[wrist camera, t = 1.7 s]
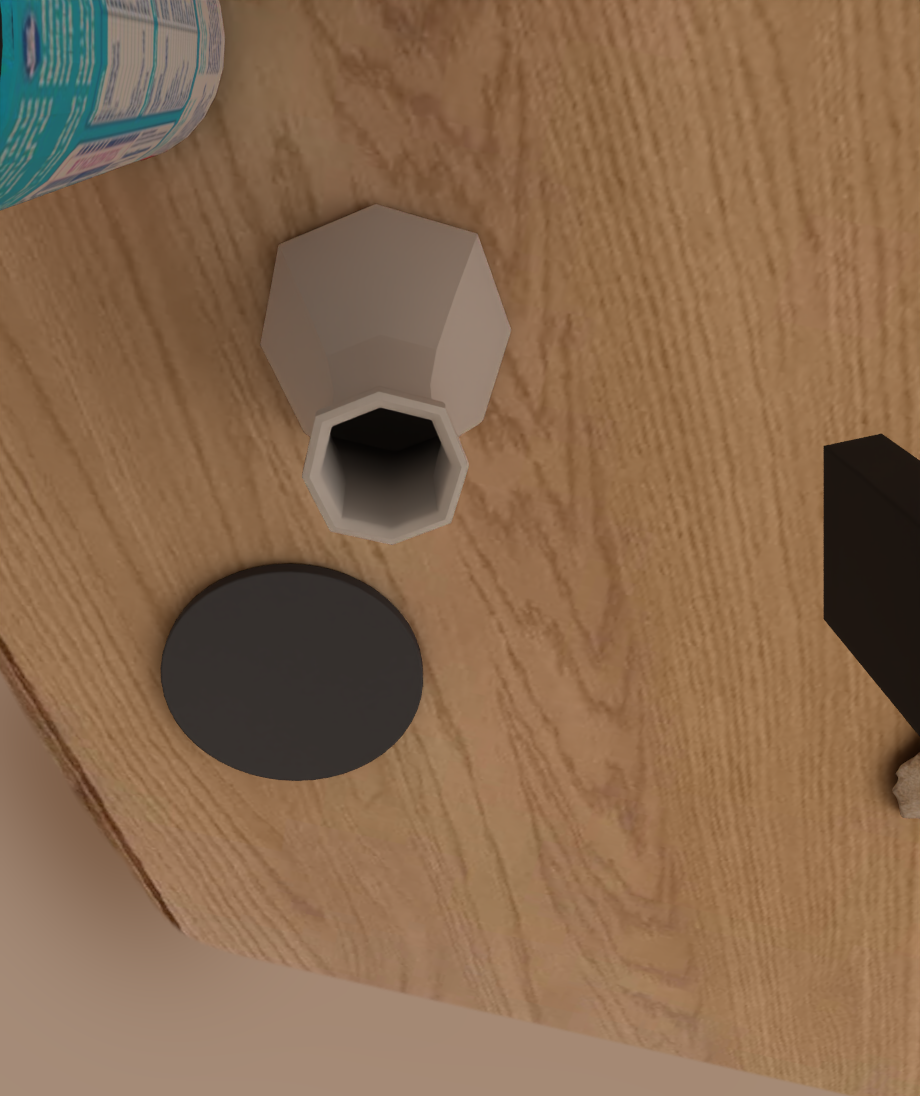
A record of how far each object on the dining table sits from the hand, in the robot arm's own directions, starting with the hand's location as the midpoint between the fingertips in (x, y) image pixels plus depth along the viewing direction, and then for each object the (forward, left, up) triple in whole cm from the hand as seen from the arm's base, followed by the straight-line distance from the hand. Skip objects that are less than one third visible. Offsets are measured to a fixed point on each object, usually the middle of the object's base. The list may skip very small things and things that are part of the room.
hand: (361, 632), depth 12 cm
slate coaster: (+11, -6, -15) cm, 20 cm away
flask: (0, 0, -16) cm, 16 cm away
